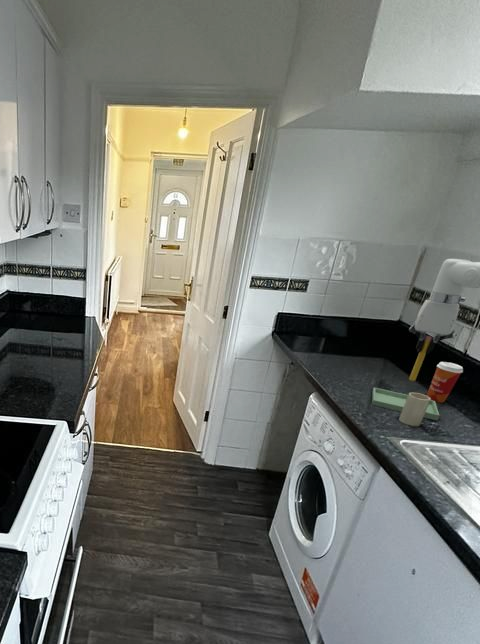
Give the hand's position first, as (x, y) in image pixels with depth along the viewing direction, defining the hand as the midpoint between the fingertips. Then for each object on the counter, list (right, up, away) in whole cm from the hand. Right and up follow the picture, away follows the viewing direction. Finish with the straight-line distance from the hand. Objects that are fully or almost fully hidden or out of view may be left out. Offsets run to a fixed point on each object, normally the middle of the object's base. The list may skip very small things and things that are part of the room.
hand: (423, 351), depth 142 cm
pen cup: (-9, -24, -5) cm, 26 cm away
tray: (-1, -19, +8) cm, 21 cm away
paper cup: (+16, -17, +15) cm, 28 cm away
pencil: (-1, -10, +4) cm, 11 cm away
